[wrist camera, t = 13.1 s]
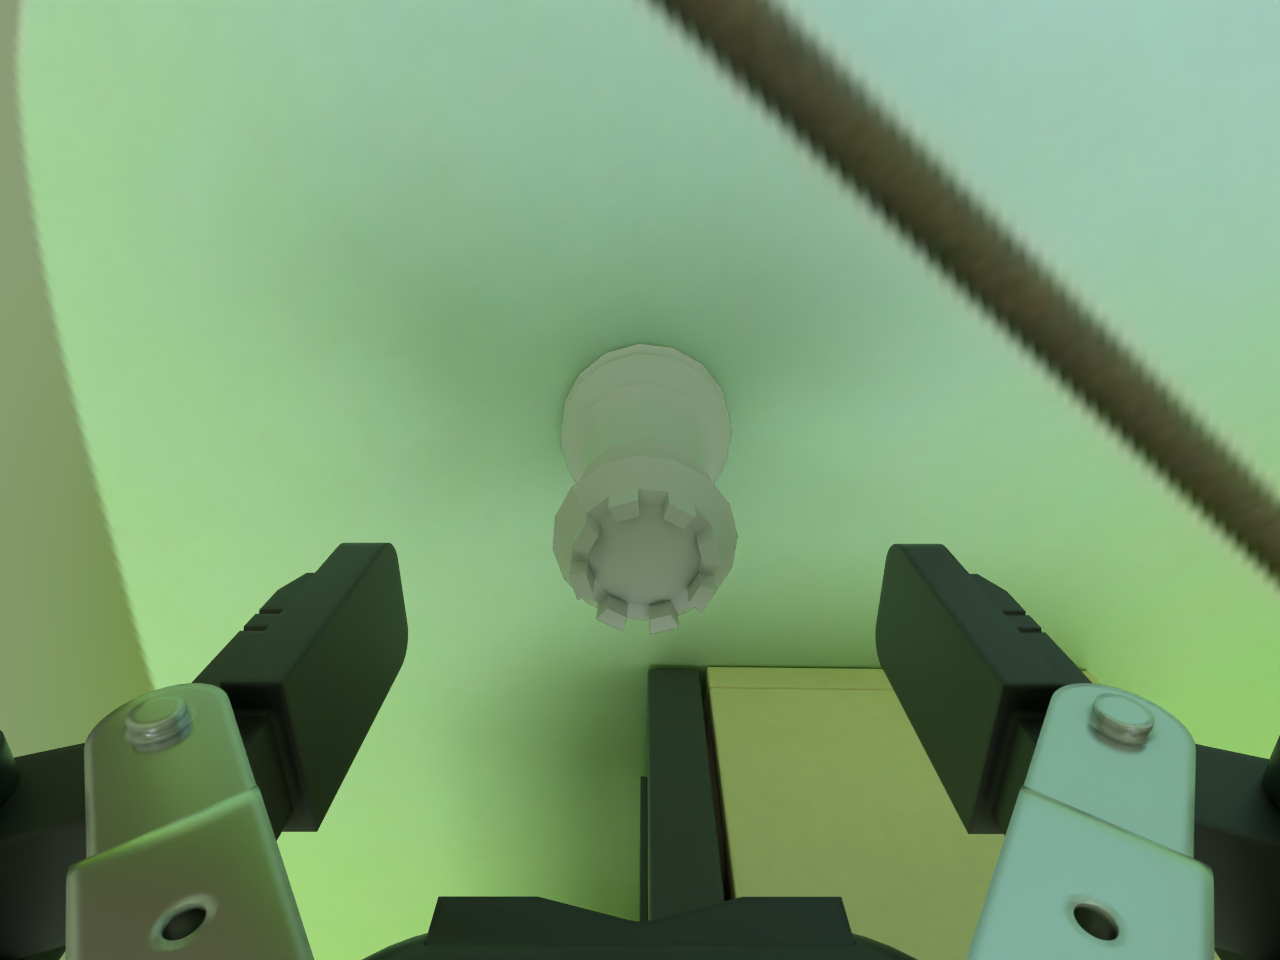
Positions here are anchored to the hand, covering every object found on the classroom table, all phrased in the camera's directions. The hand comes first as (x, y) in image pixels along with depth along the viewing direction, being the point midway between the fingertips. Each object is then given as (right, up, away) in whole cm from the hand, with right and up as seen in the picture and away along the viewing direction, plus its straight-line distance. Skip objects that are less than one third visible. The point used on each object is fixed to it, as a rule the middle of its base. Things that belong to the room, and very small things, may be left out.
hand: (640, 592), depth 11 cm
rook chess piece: (0, +3, +8) cm, 8 cm away
